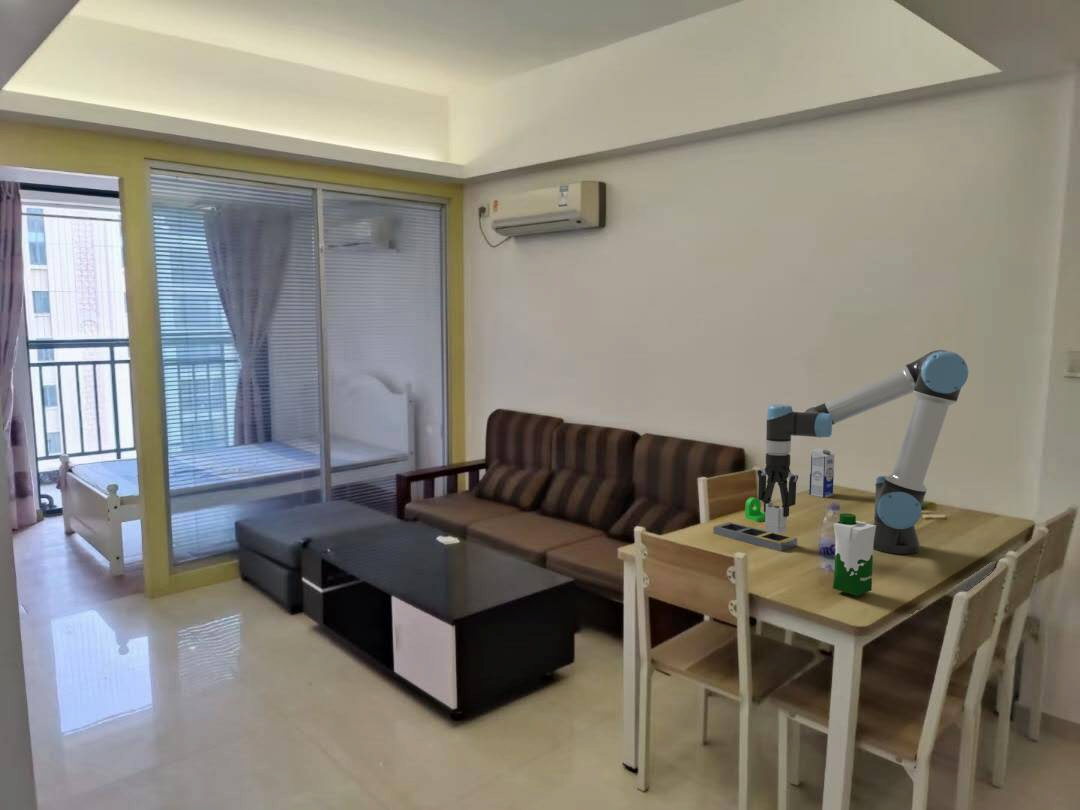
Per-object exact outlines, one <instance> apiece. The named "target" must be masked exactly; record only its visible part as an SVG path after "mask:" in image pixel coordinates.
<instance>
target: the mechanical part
mask: <svg viewBox="0 0 1080 810" xmlns="http://www.w3.org/2000/svg"><path fill="white" fill-rule="evenodd" d="M760 501H761V500H759V499H758V498H756V497H753V496H751V497H749V498H748V499H747V500H746V501H745V508H744V510H745V511H744V512H745V513H744V518H745V519H747V520H751V521H753V522H756V523H759V522H765V521H764V520H765V517H766V513H765V512H764V510H763V511H761V510H762V508H761V506H762V505H761V502H760Z"/></svg>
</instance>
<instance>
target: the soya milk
mask: <svg viewBox="0 0 1080 810" xmlns="http://www.w3.org/2000/svg"><path fill="white" fill-rule="evenodd" d="M875 529H876V525H873V524H871V523H868V522H865V521H859V520H857V515H856V514H853V513H840V514H839V521H837V522H835V523H833V530H834V536H835V543H834V570H833V582H832V589H833V590H836V591H840V592H843V593H846V594H850V595H852V596H853V595H854V596H856V597H858V596H861V595H864V594H866V593H868V592H871V591H873V589H872V588H873V560H874V549H873V543H874V536H875Z"/></svg>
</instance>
